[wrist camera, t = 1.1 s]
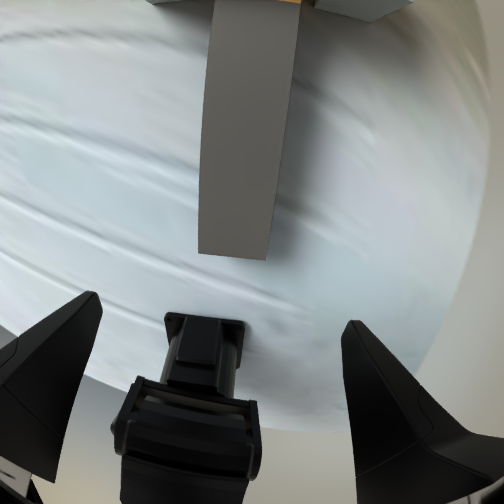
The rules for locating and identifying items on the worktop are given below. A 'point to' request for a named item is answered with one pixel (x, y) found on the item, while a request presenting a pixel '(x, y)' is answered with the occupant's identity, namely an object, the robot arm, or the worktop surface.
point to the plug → (244, 123)
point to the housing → (350, 7)
